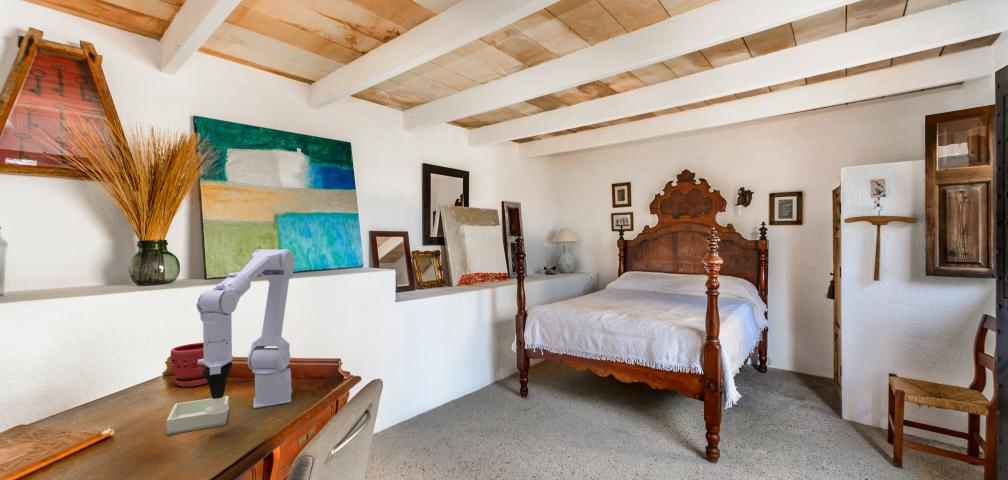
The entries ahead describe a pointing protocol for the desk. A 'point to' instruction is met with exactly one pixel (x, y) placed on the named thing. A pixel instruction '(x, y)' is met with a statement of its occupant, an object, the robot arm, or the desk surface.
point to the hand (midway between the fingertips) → (218, 396)
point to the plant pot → (188, 364)
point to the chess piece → (217, 407)
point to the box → (194, 416)
